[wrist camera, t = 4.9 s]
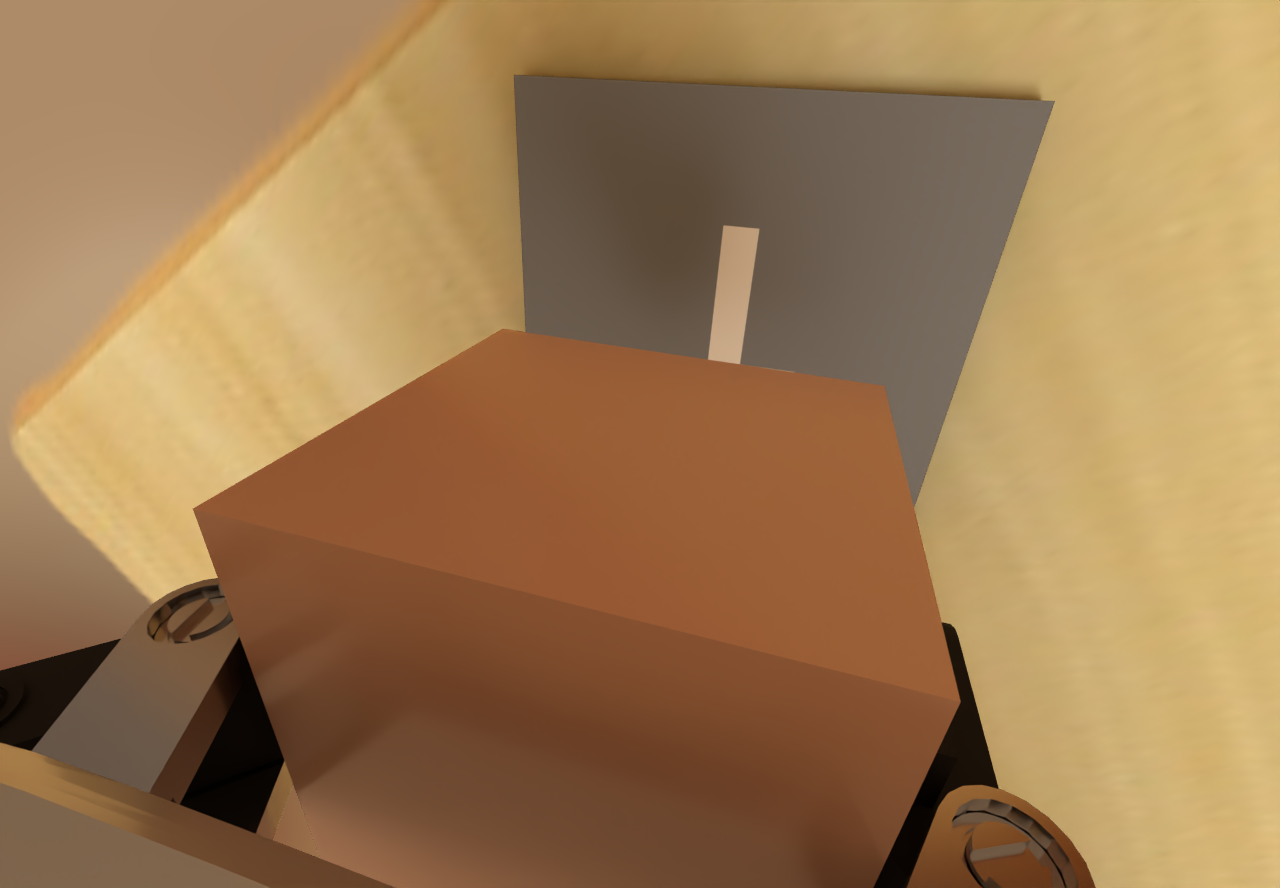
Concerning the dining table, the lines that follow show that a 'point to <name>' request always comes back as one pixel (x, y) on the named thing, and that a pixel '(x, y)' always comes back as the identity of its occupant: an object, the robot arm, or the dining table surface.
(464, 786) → the block
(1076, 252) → the dining table surface
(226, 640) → the robot arm
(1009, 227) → the board
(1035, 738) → the dining table surface
